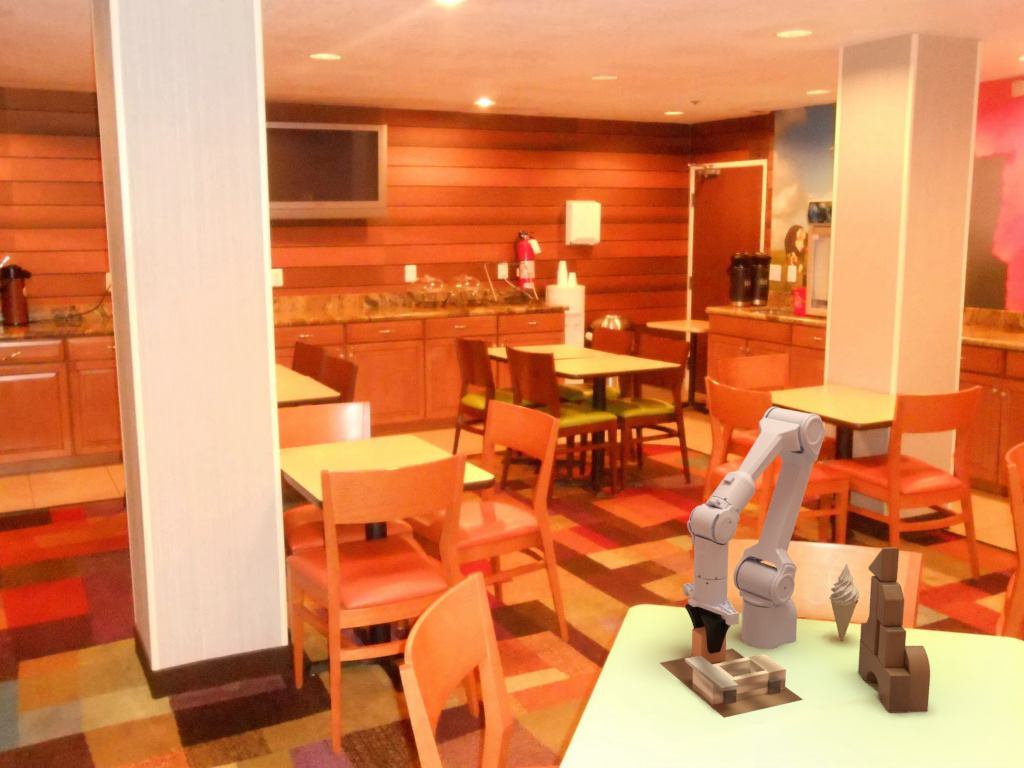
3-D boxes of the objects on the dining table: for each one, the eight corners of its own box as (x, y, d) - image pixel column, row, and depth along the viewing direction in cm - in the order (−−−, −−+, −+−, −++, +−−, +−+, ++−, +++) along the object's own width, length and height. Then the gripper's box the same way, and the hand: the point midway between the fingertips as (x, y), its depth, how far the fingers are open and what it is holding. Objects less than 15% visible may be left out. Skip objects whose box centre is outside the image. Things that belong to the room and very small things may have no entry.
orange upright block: (715, 653, 169) (716, 624, 168) (725, 660, 166) (726, 631, 166) (691, 658, 167) (692, 629, 167) (700, 665, 165) (701, 635, 164)
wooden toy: (930, 712, 152) (941, 563, 147) (888, 712, 152) (897, 563, 147) (892, 667, 167) (901, 530, 162) (854, 667, 167) (861, 531, 162)
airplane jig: (732, 653, 172) (733, 627, 172) (802, 705, 154) (804, 675, 153) (659, 668, 167) (660, 640, 166) (723, 723, 149) (724, 693, 148)
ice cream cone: (859, 646, 175) (864, 568, 172) (832, 646, 175) (836, 568, 172) (850, 634, 180) (855, 558, 177) (823, 634, 180) (827, 558, 177)
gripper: (668, 563, 169) (667, 634, 172) (714, 592, 156) (712, 669, 159) (703, 557, 172) (701, 628, 174) (750, 586, 159) (747, 662, 161)
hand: (708, 647), depth 167 cm, fingers closed on orange upright block, 3 cm apart
